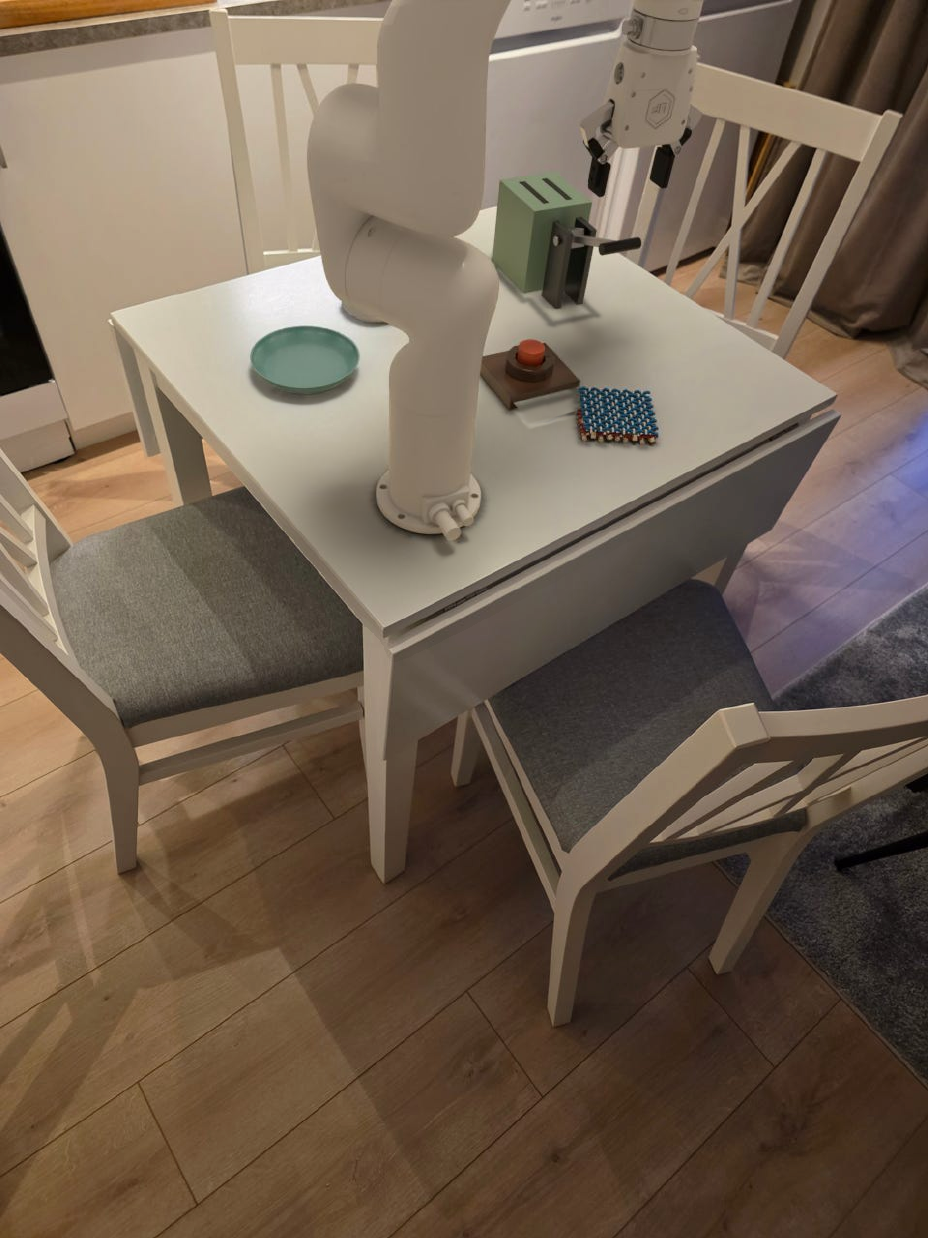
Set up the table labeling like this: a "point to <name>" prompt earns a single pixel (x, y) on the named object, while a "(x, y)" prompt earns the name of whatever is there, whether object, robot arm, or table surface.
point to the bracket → (567, 264)
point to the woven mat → (616, 415)
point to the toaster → (532, 224)
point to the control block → (525, 376)
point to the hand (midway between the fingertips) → (627, 188)
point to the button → (531, 352)
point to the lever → (603, 242)
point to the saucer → (305, 358)
